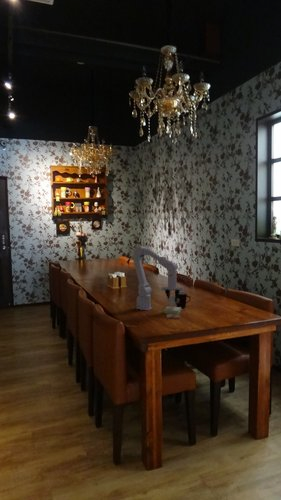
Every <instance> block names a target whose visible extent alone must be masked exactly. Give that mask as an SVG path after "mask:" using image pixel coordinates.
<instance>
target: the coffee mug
mask: <svg viewBox="0 0 281 500" xmlns="http://www.w3.org/2000/svg"><path fill="white" fill-rule="evenodd" d="M188 298H189V300H188V301H187V299H188ZM191 300H192V299H191V296H189V295H188V292H185V291H180V292H179V294H178V297H177V304H176V305H175V307H181V309H185V308H186V306H187V304H188V303H189V302H190V301H191Z"/></svg>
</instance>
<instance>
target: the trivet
mask: <svg viewBox="0 0 281 500" xmlns="http://www.w3.org/2000/svg"><path fill="white" fill-rule="evenodd" d="M165 314H166V319H169V320H171V319H179V320H180V319H181V317H180V313H179V314H172V313H165Z"/></svg>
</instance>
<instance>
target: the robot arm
mask: <svg viewBox="0 0 281 500" xmlns="http://www.w3.org/2000/svg"><path fill="white" fill-rule="evenodd" d="M145 256H149V257H150V258H152V259H154V260H155V261H157V262H158V264H159V266H161V267H163V268H165V270H166V271H167V286H162V287H161V291H164V293H165V295H166V297H167V301H168V302H169V297H171V291H174V296H175V302H176V301H177V297H178V294H179V292H184V287H179V286H178V285H177V284H178V283H177V270H178V264H177V263H176V262H173V261H172V260H169V259H168V258H167V257H166V256H160V255H159V254H157V253H156V252H155V251H153V250H152V249H151V248H150V247H149V246H148V247H147V245H141V246H140V245H137V246H136V247H135V248H134V249H133V257H132V262H133V264H134V269H135V272H136V276H137V280H138V283H139V284H138V286H137V288H138V296H137V297H136V310H137V309H140V310H139V311H151V310H152V309H153V306H151V303H152V302H151V294H152V292H153V290H152V287H151V286H150V283H149V282H148V281H147V278H146V273H145V269H144V267H143V262H142V260H143V258H144V257H145Z"/></svg>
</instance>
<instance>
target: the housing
mask: <svg viewBox="0 0 281 500" xmlns="http://www.w3.org/2000/svg"><path fill="white" fill-rule="evenodd" d="M176 304H177V301H176V302H175V295H173V296H172V295H170V297H169V301H168V307H176Z"/></svg>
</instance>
